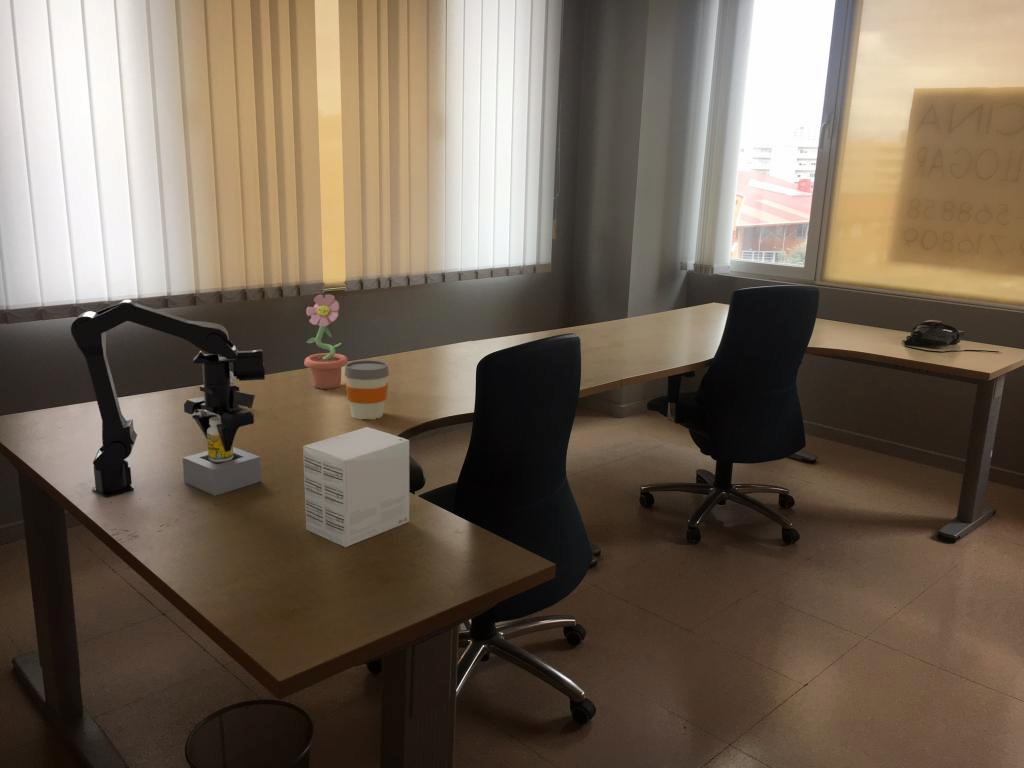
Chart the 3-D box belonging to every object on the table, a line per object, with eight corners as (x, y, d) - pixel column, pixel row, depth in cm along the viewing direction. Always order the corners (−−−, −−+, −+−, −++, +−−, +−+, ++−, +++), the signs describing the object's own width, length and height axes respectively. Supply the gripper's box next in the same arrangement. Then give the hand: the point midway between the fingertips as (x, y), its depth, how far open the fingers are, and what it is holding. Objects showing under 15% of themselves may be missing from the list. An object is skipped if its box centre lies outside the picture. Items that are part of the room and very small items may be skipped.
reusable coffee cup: (393, 410, 260) (393, 361, 257) (383, 422, 248) (382, 371, 244) (352, 408, 261) (351, 359, 258) (340, 420, 249) (338, 368, 246)
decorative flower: (293, 389, 281) (290, 296, 273) (315, 379, 293) (312, 290, 286) (335, 393, 277) (333, 299, 269) (355, 383, 289) (354, 293, 282)
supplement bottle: (238, 458, 200) (236, 417, 197) (220, 464, 195) (218, 423, 193) (221, 453, 202) (219, 413, 200) (203, 459, 198) (200, 419, 195)
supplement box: (368, 505, 189) (367, 425, 185) (411, 522, 181) (411, 439, 177) (303, 529, 176) (300, 444, 172) (346, 549, 168) (344, 460, 164)
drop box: (215, 495, 192) (213, 470, 191) (184, 482, 199) (182, 457, 198) (260, 481, 201) (259, 456, 200) (229, 469, 208) (228, 445, 207)
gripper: (273, 382, 195) (275, 449, 199) (223, 368, 206) (226, 431, 210) (230, 391, 186) (233, 461, 190) (180, 376, 197) (184, 442, 201)
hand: (220, 448), depth 198 cm, fingers closed on supplement bottle, 5 cm apart
